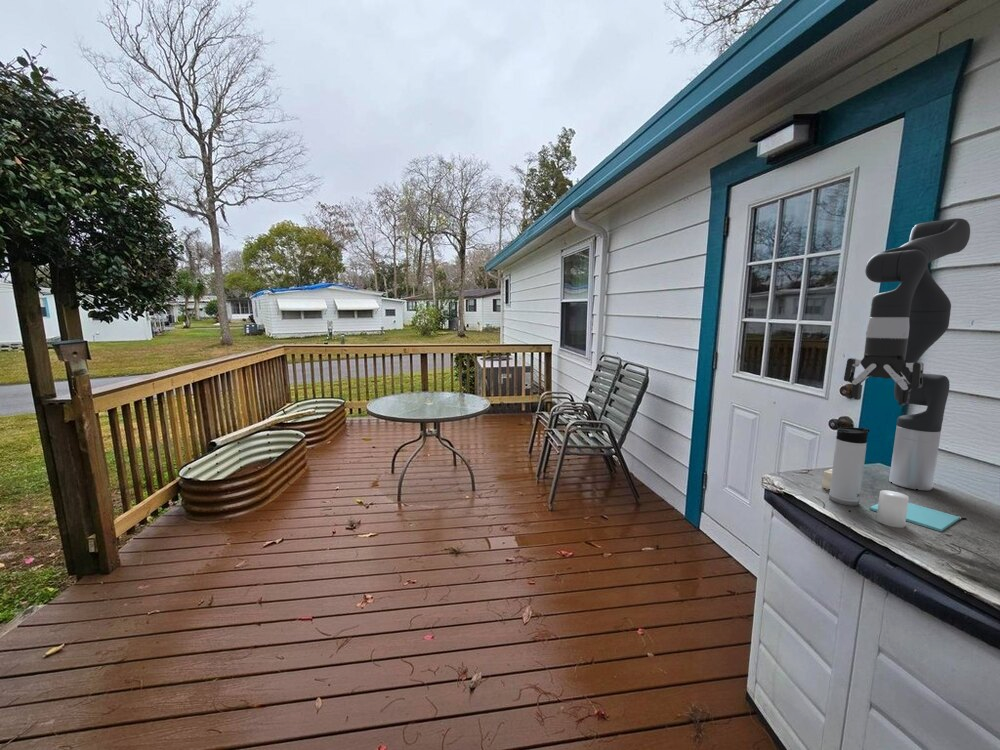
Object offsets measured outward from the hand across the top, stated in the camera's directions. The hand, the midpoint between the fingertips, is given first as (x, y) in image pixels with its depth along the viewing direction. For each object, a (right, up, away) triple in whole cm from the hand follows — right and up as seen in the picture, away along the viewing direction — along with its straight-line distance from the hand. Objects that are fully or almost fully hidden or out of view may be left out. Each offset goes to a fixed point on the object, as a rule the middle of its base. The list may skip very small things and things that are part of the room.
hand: (878, 402), depth 103 cm
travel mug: (-2, -27, +8) cm, 28 cm away
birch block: (+3, -26, +17) cm, 31 cm away
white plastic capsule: (0, -29, -4) cm, 29 cm away
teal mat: (+10, -28, +1) cm, 30 cm away
